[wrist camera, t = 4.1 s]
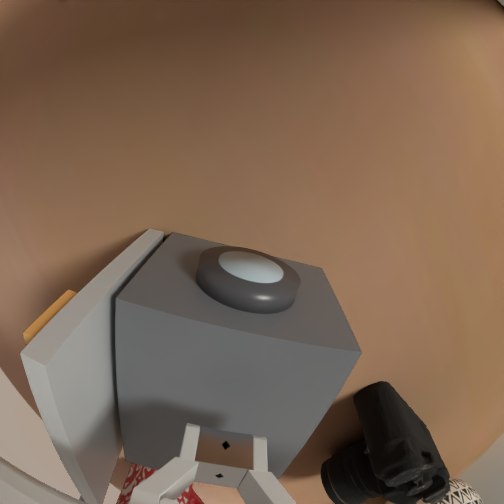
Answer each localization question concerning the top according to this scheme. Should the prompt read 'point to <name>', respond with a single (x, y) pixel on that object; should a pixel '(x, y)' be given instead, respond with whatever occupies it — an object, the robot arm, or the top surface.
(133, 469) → the mug
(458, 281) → the top surface
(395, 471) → the camera
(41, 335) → the door
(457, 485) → the planter
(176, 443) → the housing
